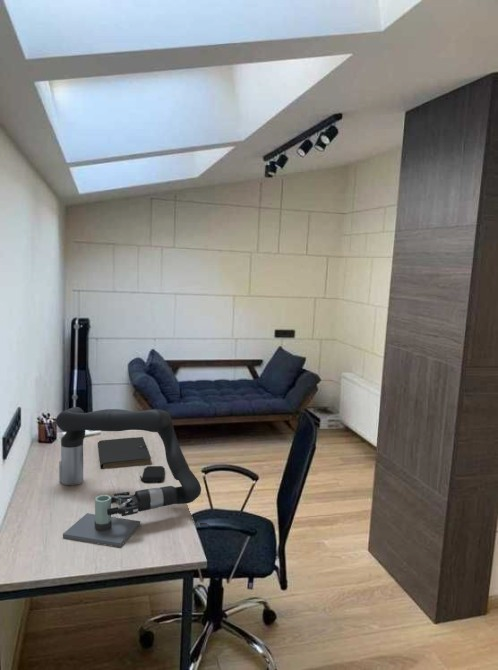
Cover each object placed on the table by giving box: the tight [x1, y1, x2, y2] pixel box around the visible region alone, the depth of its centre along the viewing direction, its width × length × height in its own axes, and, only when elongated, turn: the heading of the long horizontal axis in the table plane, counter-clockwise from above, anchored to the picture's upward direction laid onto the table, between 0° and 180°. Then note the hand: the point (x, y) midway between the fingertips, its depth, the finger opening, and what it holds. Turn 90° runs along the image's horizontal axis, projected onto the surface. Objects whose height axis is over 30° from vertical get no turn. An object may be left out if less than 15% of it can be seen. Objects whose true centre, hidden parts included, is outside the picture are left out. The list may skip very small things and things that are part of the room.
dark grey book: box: [97, 436, 152, 470], centre depth 257 cm, size 33×4×24 cm
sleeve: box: [94, 494, 112, 531], centre depth 181 cm, size 6×6×11 cm
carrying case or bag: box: [139, 465, 166, 484], centre depth 231 cm, size 11×3×15 cm
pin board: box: [62, 512, 141, 548], centre depth 181 cm, size 22×16×6 cm
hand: (105, 507), depth 181 cm, fingers open, 8 cm apart
